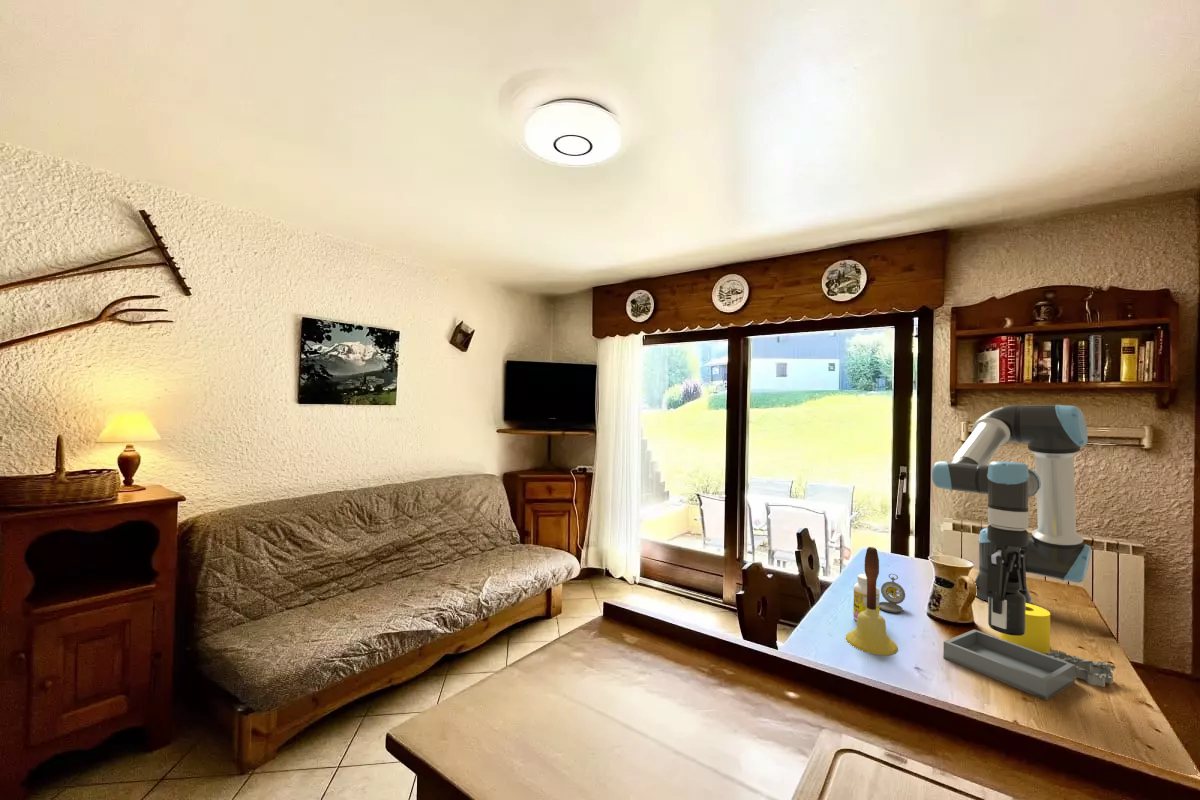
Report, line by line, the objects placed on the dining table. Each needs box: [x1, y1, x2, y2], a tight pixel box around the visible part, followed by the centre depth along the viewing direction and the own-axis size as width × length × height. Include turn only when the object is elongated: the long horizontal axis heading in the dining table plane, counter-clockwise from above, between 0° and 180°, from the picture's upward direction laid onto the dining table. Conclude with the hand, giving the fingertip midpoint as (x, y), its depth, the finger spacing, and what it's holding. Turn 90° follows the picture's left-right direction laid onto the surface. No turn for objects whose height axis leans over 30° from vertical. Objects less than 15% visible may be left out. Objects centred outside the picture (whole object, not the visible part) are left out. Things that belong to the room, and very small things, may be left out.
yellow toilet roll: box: [999, 603, 1051, 654], centre depth 131 cm, size 10×10×9 cm
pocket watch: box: [879, 573, 906, 614], centre depth 153 cm, size 8×8×10 cm
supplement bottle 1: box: [852, 573, 881, 622], centre depth 143 cm, size 7×7×13 cm
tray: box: [942, 628, 1076, 701], centre depth 118 cm, size 15×20×4 cm
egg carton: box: [1045, 650, 1116, 688], centre depth 116 cm, size 11×8×4 cm
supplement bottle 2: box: [987, 577, 1026, 636], centre depth 118 cm, size 7×7×12 cm
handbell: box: [844, 546, 899, 656], centre depth 130 cm, size 12×12×25 cm
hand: (1006, 623), depth 118 cm, fingers closed on supplement bottle 2, 7 cm apart
